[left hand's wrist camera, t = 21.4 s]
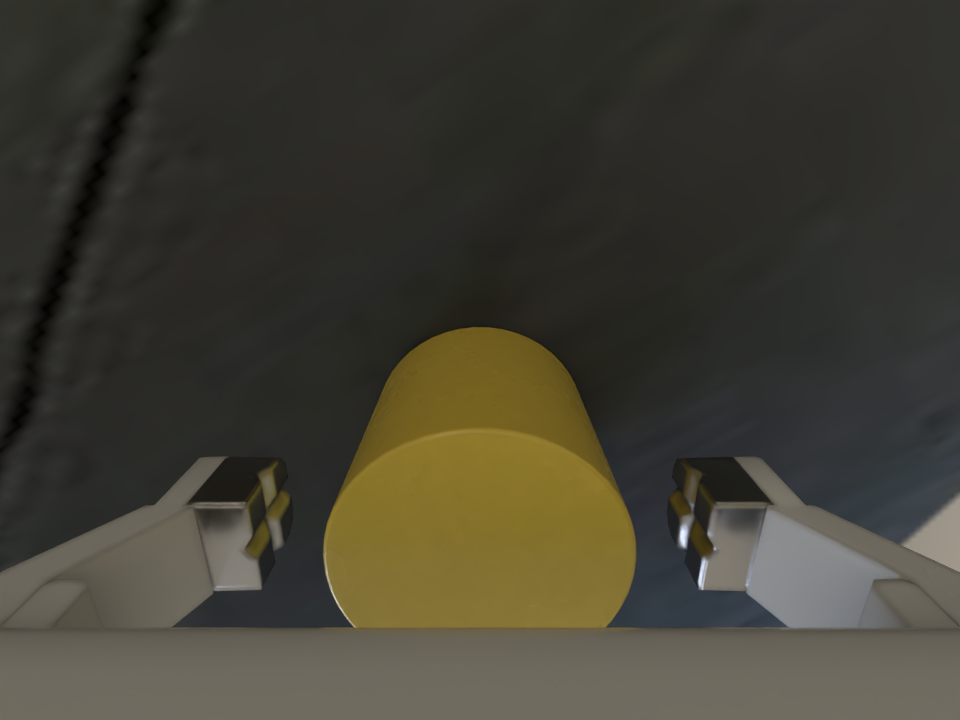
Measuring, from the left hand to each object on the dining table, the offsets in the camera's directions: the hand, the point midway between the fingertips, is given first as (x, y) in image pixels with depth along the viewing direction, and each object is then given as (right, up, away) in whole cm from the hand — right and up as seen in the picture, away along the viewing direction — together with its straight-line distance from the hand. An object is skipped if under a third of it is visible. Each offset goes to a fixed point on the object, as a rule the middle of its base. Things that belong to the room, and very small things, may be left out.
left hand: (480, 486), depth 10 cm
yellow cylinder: (0, +1, +2) cm, 3 cm away
